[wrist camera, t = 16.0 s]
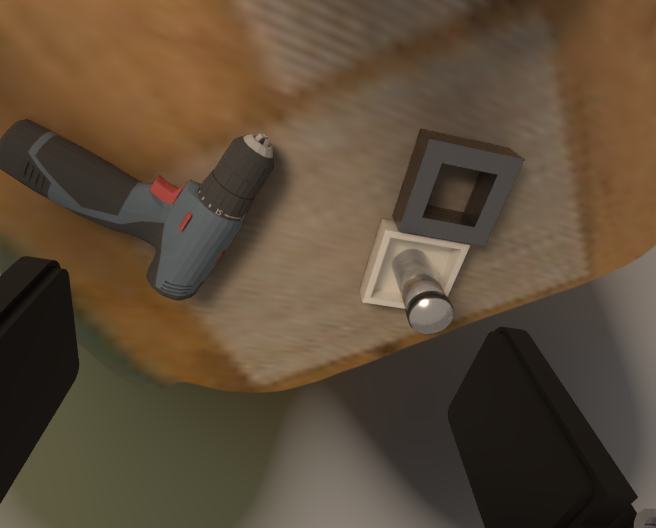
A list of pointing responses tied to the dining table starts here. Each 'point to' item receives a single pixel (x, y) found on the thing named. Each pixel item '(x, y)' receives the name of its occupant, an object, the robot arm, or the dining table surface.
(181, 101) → the dining table surface
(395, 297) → the tray
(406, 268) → the shiny metal canister
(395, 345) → the dining table surface
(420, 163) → the block
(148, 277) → the power drill
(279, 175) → the dining table surface
